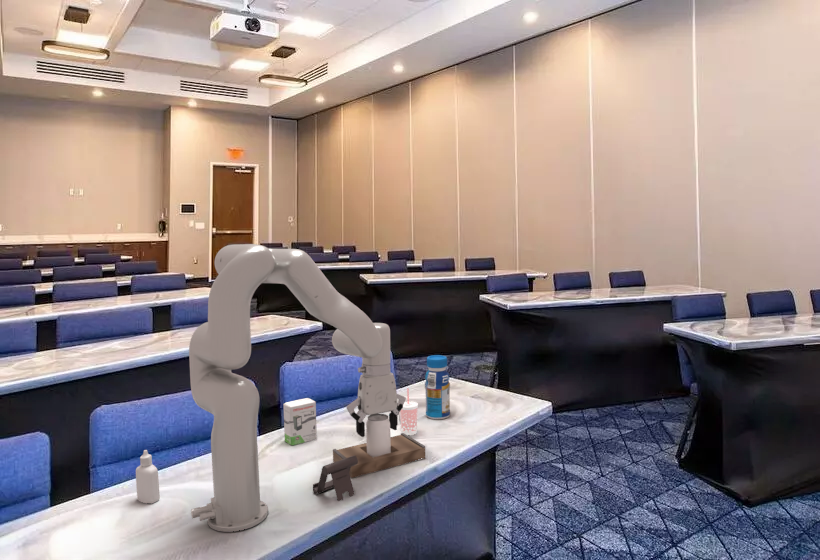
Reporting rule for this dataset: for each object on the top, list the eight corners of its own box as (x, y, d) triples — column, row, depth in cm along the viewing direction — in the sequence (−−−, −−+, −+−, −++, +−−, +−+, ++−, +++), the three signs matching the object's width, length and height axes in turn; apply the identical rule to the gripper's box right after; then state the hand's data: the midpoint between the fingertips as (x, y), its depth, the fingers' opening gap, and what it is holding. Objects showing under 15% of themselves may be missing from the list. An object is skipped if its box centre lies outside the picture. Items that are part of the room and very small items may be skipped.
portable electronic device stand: (343, 481, 136) (342, 448, 136) (362, 492, 131) (361, 458, 130) (312, 493, 131) (311, 459, 130) (331, 504, 125) (329, 469, 124)
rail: (351, 478, 138) (351, 465, 138) (333, 461, 148) (332, 449, 148) (425, 458, 149) (425, 446, 149) (403, 444, 159) (403, 432, 159)
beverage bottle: (421, 413, 186) (420, 355, 184) (445, 410, 189) (444, 353, 187) (430, 421, 178) (429, 361, 176) (454, 418, 181) (453, 358, 179)
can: (369, 466, 145) (368, 422, 144) (365, 456, 151) (364, 414, 150) (393, 463, 146) (392, 419, 145) (388, 454, 153) (387, 412, 151)
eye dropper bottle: (156, 492, 132) (153, 444, 131) (160, 501, 128) (157, 452, 127) (136, 497, 130) (133, 448, 129) (140, 507, 125) (136, 456, 124)
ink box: (291, 446, 160) (289, 406, 159) (284, 441, 164) (282, 402, 163) (317, 439, 165) (316, 400, 164) (310, 434, 169) (308, 397, 168)
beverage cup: (422, 434, 167) (421, 389, 166) (403, 437, 164) (402, 392, 163) (414, 428, 172) (413, 384, 171) (396, 431, 170) (395, 387, 169)
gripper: (352, 376, 139) (353, 442, 140) (411, 368, 148) (411, 430, 149) (341, 370, 145) (342, 433, 146) (397, 363, 154) (398, 422, 155)
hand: (377, 432), depth 148 cm, fingers open, 9 cm apart
